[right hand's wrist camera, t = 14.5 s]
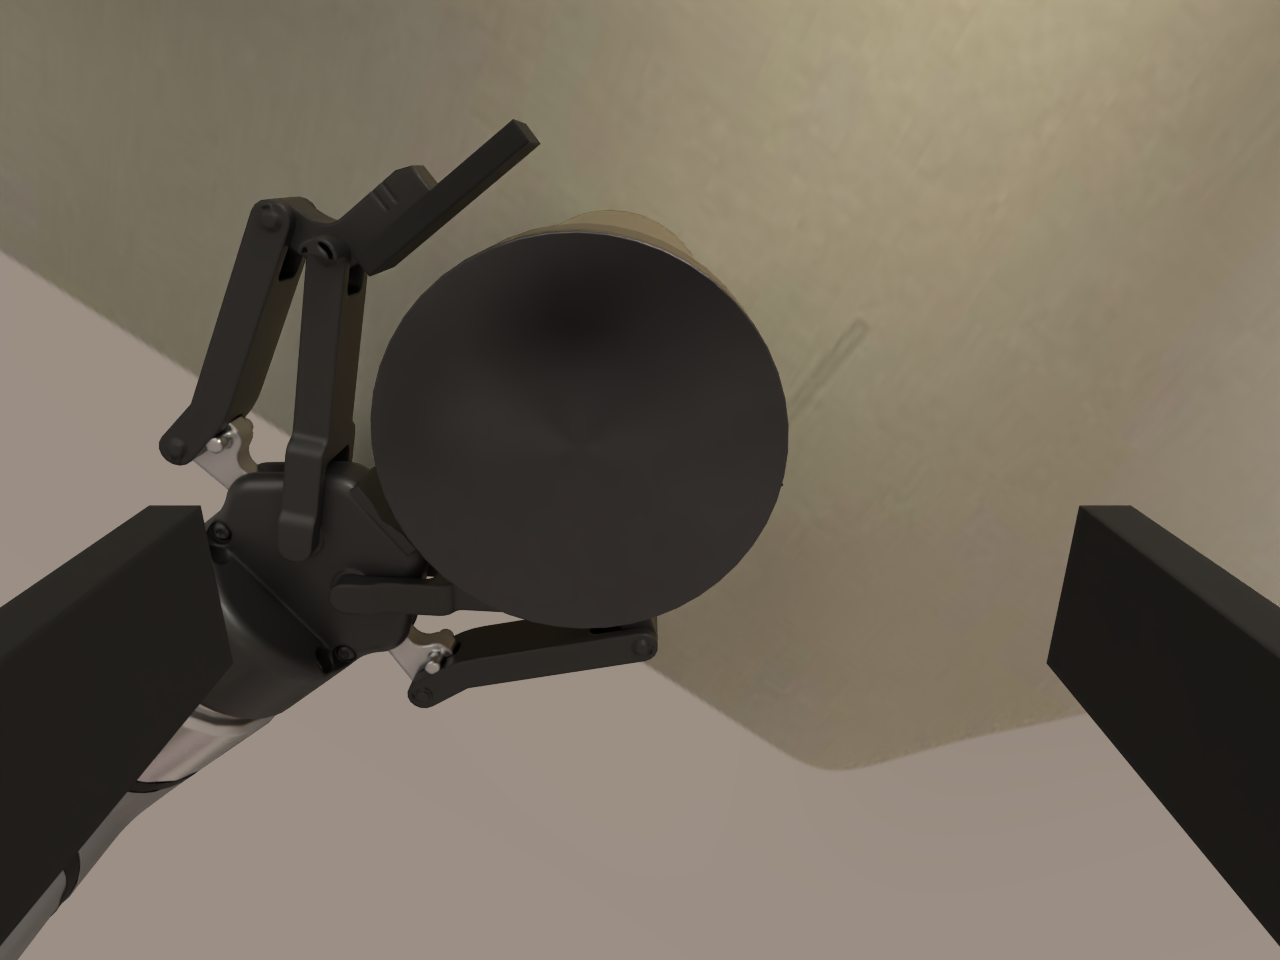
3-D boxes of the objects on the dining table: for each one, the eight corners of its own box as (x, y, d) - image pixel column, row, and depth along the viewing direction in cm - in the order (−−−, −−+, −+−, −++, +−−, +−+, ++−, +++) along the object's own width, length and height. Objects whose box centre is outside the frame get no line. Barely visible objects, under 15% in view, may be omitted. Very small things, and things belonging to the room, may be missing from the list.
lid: (820, 514, 20) (840, 554, 18) (497, 626, 22) (481, 676, 20) (697, 158, 17) (704, 156, 15) (331, 311, 19) (291, 330, 17)
